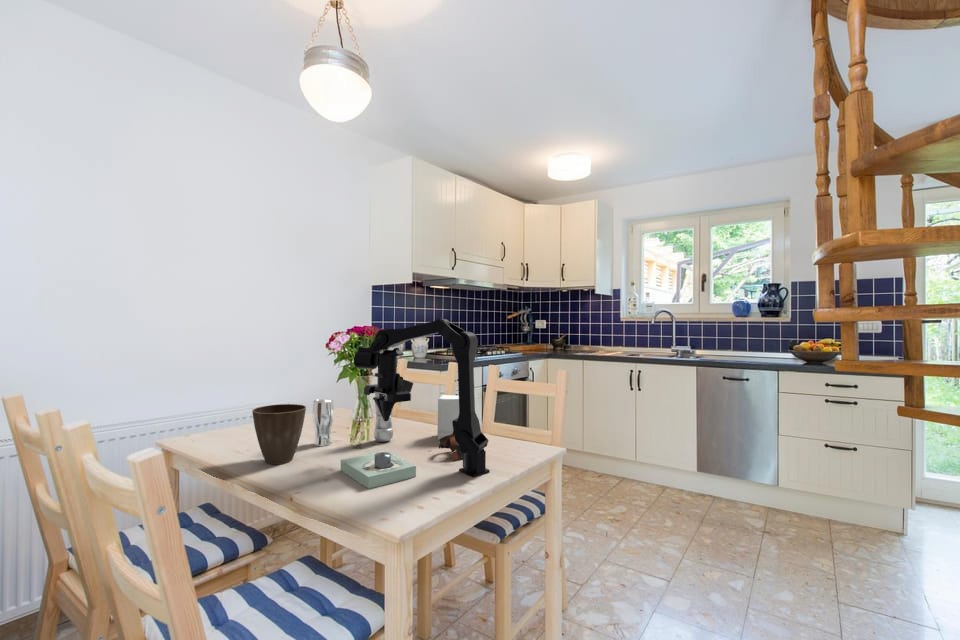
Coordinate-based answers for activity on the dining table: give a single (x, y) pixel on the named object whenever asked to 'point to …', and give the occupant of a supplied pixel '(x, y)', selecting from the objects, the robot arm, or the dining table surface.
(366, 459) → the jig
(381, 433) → the plastic bottle
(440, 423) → the supplement box
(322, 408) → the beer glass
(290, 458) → the plant pot
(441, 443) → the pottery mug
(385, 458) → the dark metal cylinder
